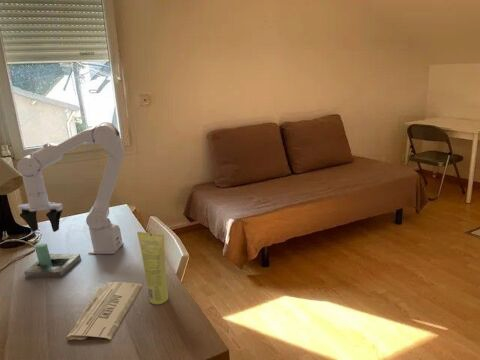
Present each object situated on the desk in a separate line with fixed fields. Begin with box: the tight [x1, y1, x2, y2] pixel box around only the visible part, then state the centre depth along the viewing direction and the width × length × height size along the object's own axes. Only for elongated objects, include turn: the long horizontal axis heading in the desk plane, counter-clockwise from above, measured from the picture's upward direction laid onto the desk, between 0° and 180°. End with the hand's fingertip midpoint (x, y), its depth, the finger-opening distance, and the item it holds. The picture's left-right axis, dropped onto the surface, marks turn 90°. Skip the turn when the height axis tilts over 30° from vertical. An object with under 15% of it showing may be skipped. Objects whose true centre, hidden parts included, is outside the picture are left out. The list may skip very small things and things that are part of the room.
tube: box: [137, 231, 169, 305], centre depth 93 cm, size 6×5×20 cm
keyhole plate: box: [24, 253, 82, 279], centre depth 115 cm, size 12×11×2 cm
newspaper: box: [66, 281, 143, 341], centre depth 92 cm, size 23×12×2 cm, turn 175°
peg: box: [34, 242, 54, 267], centre depth 114 cm, size 3×3×8 cm
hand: (45, 230), depth 120 cm, fingers open, 7 cm apart
